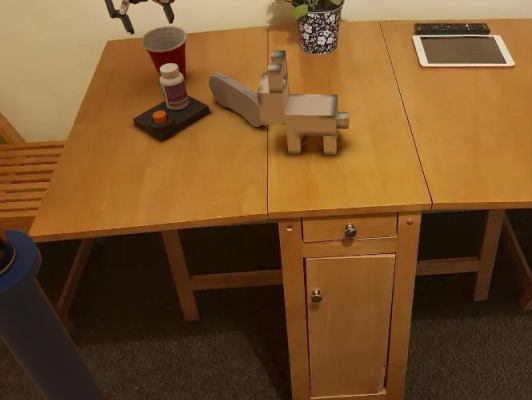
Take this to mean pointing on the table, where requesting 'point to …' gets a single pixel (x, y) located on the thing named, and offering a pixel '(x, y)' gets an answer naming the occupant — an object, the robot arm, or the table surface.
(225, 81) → the game controller
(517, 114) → the table surface
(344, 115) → the toy llama
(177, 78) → the pill bottle
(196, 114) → the scale
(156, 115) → the button
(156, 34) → the plastic cup
